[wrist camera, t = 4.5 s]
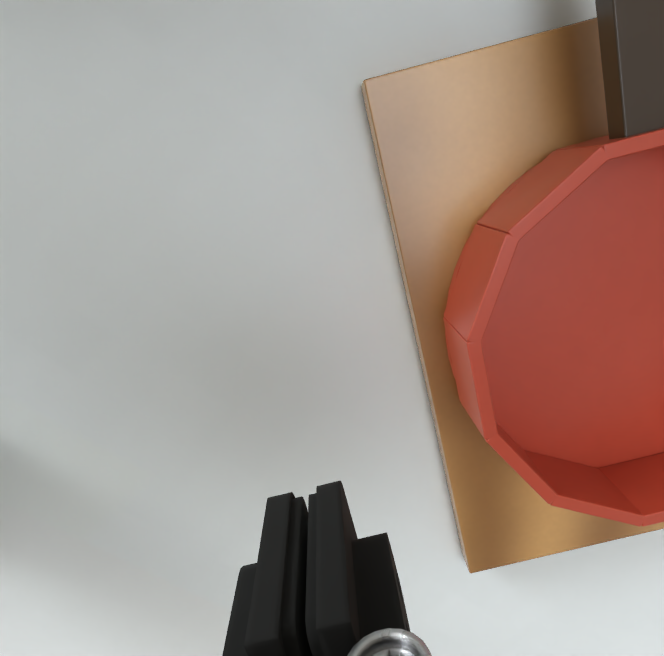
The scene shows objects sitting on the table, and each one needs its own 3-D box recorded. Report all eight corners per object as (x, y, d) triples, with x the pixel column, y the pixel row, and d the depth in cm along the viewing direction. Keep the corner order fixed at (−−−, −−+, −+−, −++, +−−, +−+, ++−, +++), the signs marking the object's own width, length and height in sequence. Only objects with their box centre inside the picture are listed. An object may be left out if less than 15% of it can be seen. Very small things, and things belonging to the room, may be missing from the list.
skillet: (476, 497, 24) (507, 559, 20) (360, -78, 18) (373, -147, 14) (787, 423, 24) (880, 472, 20) (781, -195, 17) (914, -301, 13)
